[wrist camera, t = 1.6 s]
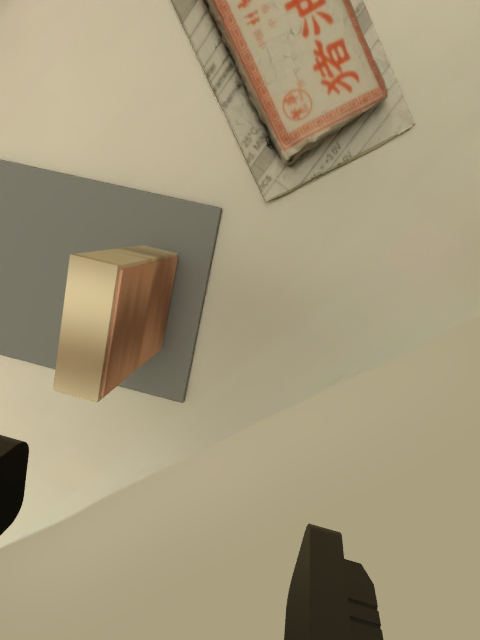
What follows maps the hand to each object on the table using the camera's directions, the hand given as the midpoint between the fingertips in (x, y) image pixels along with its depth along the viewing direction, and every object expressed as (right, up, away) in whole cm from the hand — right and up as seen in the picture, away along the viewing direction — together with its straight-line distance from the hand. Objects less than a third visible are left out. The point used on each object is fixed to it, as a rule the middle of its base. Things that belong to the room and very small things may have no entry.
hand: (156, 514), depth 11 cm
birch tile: (-4, +6, +21) cm, 22 cm away
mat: (-9, +7, +22) cm, 25 cm away
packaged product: (+4, +22, +18) cm, 29 cm away
